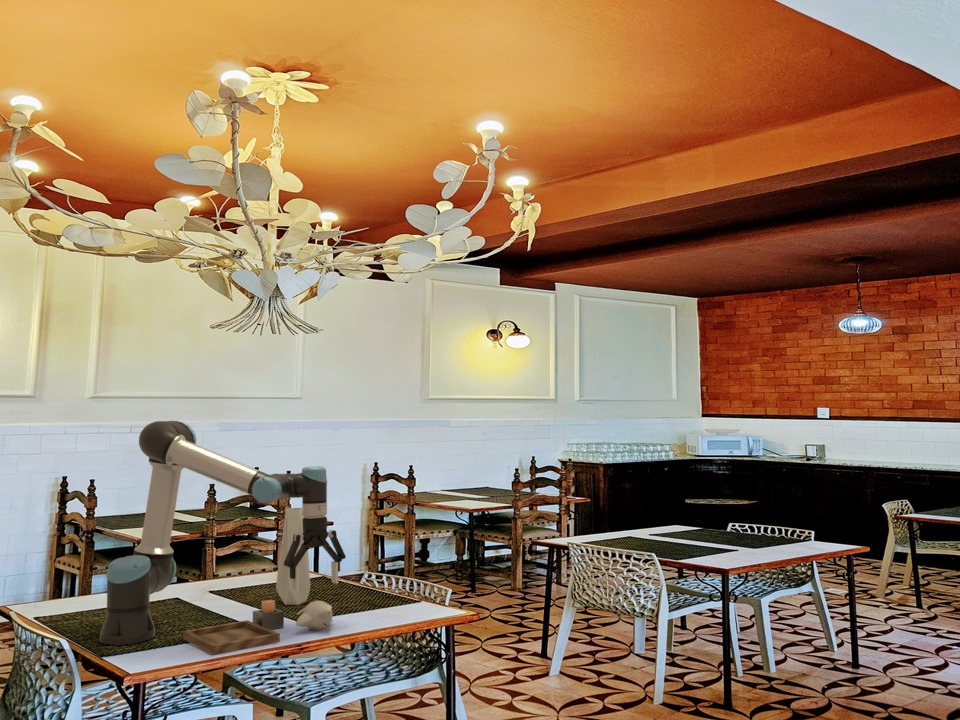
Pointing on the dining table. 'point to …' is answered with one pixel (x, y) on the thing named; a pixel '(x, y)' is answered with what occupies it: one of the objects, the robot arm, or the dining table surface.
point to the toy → (315, 615)
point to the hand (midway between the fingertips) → (315, 586)
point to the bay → (231, 637)
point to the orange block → (268, 606)
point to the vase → (284, 582)
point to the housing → (269, 619)
